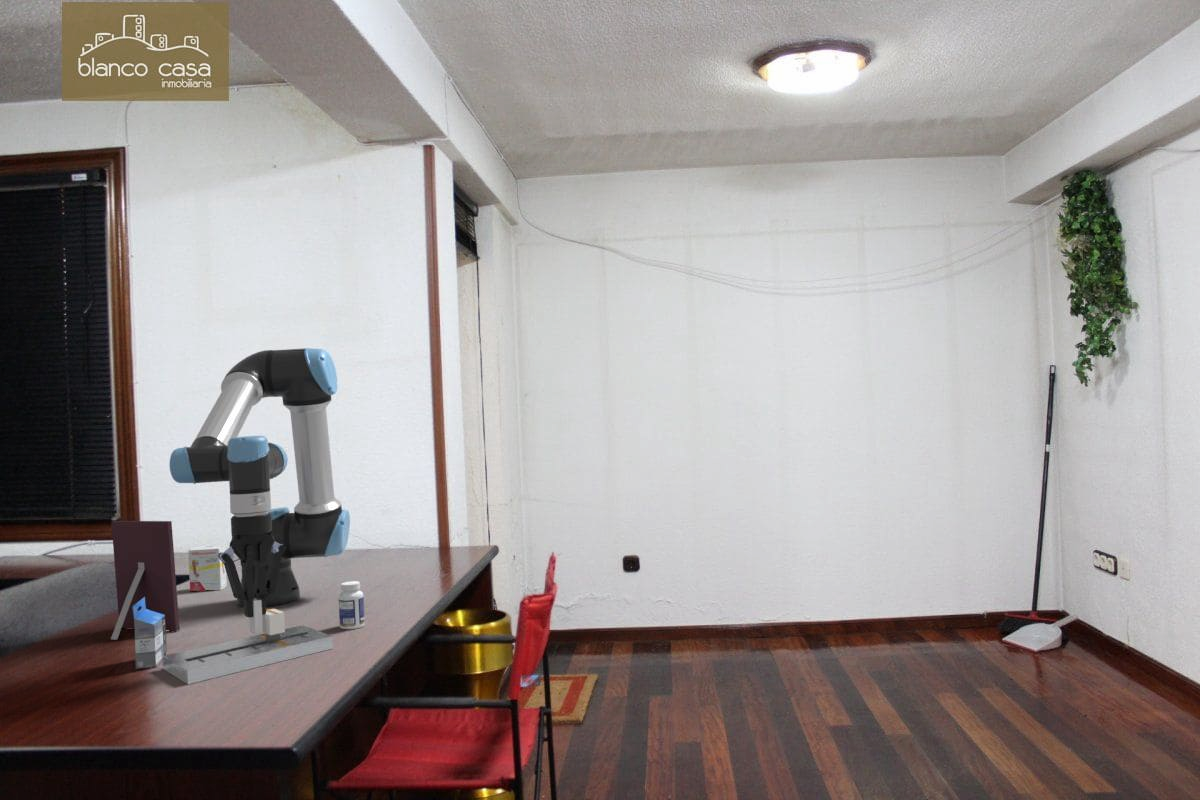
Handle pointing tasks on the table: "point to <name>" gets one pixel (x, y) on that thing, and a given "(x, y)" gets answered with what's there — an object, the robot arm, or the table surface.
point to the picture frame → (145, 571)
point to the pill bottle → (351, 606)
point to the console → (244, 654)
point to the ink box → (206, 568)
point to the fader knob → (273, 624)
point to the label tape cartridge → (149, 636)
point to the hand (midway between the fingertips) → (256, 632)
